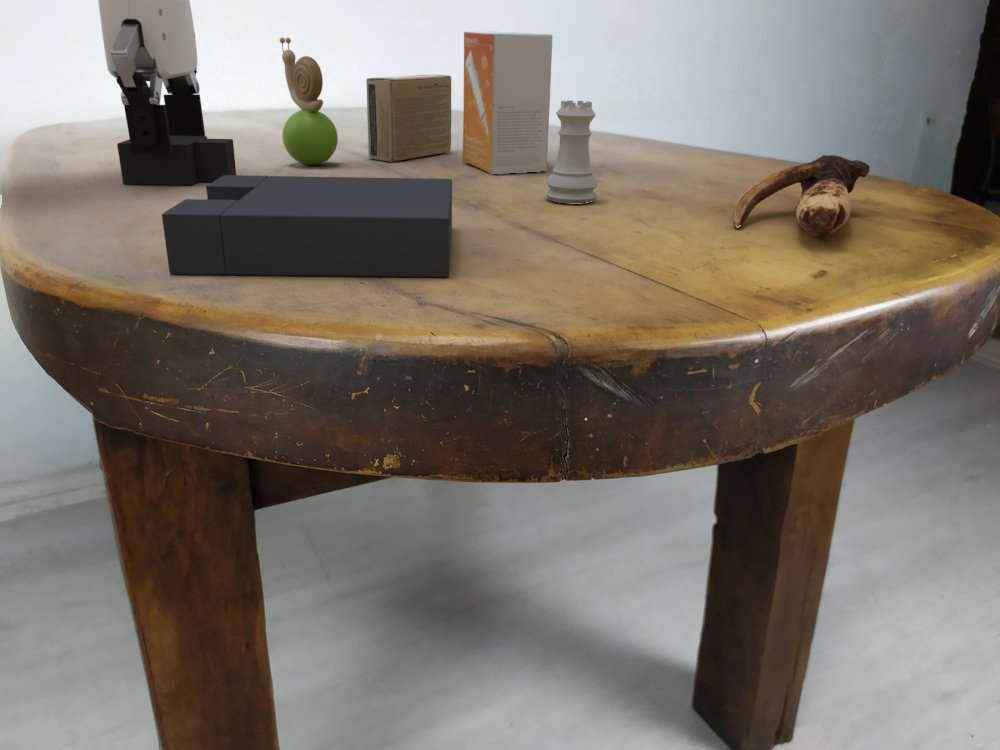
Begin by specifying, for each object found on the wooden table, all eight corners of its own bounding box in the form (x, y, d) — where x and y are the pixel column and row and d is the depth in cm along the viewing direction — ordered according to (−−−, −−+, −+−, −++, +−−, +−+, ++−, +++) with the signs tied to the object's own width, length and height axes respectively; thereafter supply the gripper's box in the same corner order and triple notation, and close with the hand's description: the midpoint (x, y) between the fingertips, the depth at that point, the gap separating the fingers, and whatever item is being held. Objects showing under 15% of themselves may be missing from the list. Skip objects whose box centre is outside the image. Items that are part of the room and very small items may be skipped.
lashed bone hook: (749, 203, 74) (719, 241, 58) (754, 148, 72) (725, 173, 57) (862, 209, 71) (862, 252, 55) (871, 152, 69) (874, 179, 53)
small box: (461, 162, 89) (462, 30, 84) (516, 160, 91) (520, 31, 86) (490, 175, 82) (493, 32, 77) (548, 172, 84) (555, 33, 79)
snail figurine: (314, 158, 89) (307, 37, 85) (349, 165, 85) (343, 39, 80) (269, 162, 86) (259, 37, 81) (303, 170, 82) (294, 39, 77)
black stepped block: (122, 184, 73) (116, 143, 72) (146, 173, 78) (141, 134, 77) (224, 186, 73) (220, 145, 72) (241, 174, 79) (237, 136, 77)
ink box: (427, 149, 97) (427, 73, 94) (453, 153, 95) (453, 75, 92) (366, 159, 90) (363, 76, 86) (392, 163, 88) (390, 78, 84)
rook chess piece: (582, 207, 68) (588, 105, 65) (535, 200, 70) (539, 101, 67) (606, 199, 72) (613, 102, 69) (560, 193, 74) (565, 98, 71)
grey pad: (169, 274, 48) (161, 213, 46) (228, 224, 60) (223, 174, 58) (448, 277, 48) (448, 217, 47) (451, 227, 60) (451, 178, 59)
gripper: (131, -60, 76) (161, 133, 83) (43, -80, 60) (89, 161, 67) (214, -60, 76) (237, 133, 83) (148, -80, 60) (183, 161, 67)
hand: (171, 146), depth 75 cm, fingers open, 9 cm apart
